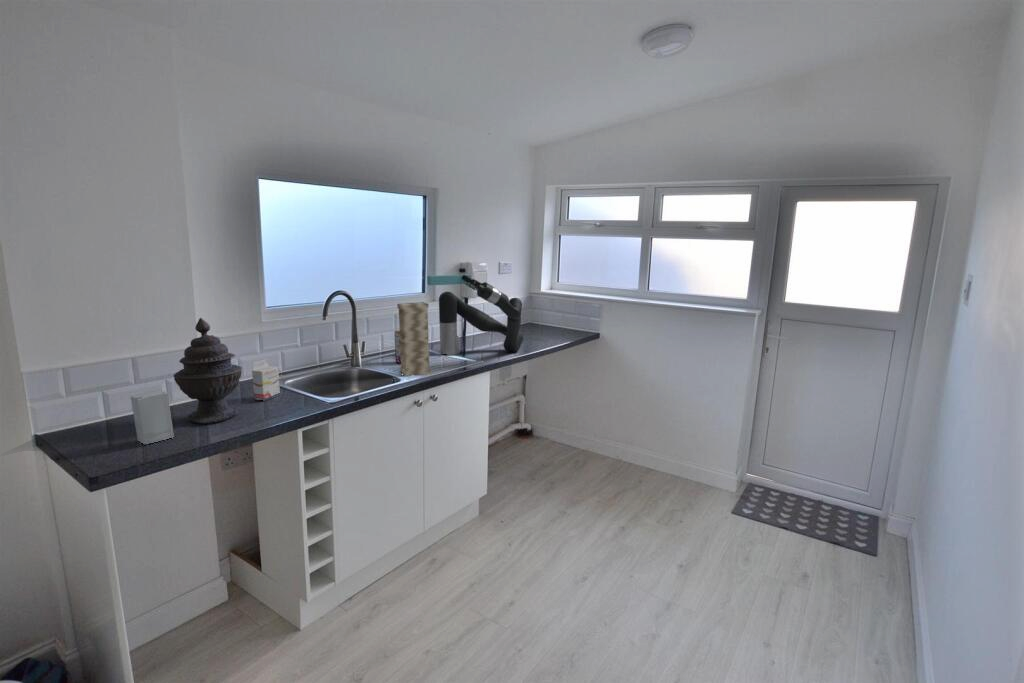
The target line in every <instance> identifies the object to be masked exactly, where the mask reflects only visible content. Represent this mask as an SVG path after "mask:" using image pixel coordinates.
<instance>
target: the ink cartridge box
mask: <svg viewBox="0 0 1024 683" xmlns="http://www.w3.org/2000/svg"><path fill="white" fill-rule="evenodd" d="M269 361H270V360H269V358H266V359H262V360H258V361H254V362H252V364H251V365H252V366H251V367H252V368H251V369H252V371H251V374H252V375H251V376H252V384H253V385H252V386H253V389H252V390H253V398H254V397H255V398H261V399H264V398H268V397H270V396H273V395H275V394H278V393H280V394H281V389H280V388H281V387H280V376H279V374H280V373H279V366H270V365H269V364H270V363H269ZM260 364H261V365H260Z"/></svg>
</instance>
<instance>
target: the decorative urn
mask: <svg viewBox="0 0 1024 683" xmlns="http://www.w3.org/2000/svg"><path fill="white" fill-rule="evenodd" d="M194 328H195V329H194V330H195V331H196V332H198V333H200V335H201V336H198V337H195V338H192V339H191V341H190V345H189V346H188V347H186V348H185V349H184V352H183V354H184V357H182V358H181V359H179V361H178V362H179V364H182V365H183V368H182V369H180V370H178V371H177V372H175V373H174V374H173V377H174V378H173V379H174V382H175V384H176V385H177V386H178V387H179V390H180V391H181V392H182V393H184V395H186V396H187V397H188V398H189V399H191V400H197V408H196V411H195V410H194V411H192V412H191V413H189V414H187V415H186V420H188V421H190V422H192V423H194V422H196V423H195V424H207V423H208V422H215V421H219V422H221V421H220V420H223V421H225V420H224V419H227V418H229V417H232V416H233V417H235V416H236V415H238V414H239V409H238V408H237V407H233V406H229V404H228V402H227V400H226V398H225V397H227V396H229V395H230V394H232V393H233V392H234V390H235V389H236V387H238V385H239V383H240V379H241V377H242V373H243V372H242V371H243V367H242V366H240V365H237V364H232V358H234V357H235V356H236V355H235V354H234V353H231V352H229V349H228V345H227V344H225V343H221V342H222V341H221V339H220V337H218V336H215V335H213V334H211V335H209V334H208V332H209V331H210V330H211V326H210V324H209V322H207V321H206V320H205V319H203V318H202V317H199V319H198V321H197V323H196V325H195V327H194ZM234 415H235V416H234ZM233 417H232V418H233ZM227 420H228V419H227ZM208 424H209V423H208Z"/></svg>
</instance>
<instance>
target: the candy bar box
mask: <svg viewBox="0 0 1024 683" xmlns="http://www.w3.org/2000/svg"><path fill="white" fill-rule="evenodd" d="M394 353H395V355H394V356H395V363H396V362H401V354H400V330H399V328H398V329H396V330H394Z"/></svg>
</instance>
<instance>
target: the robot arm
mask: <svg viewBox="0 0 1024 683" xmlns="http://www.w3.org/2000/svg"><path fill="white" fill-rule="evenodd" d="M458 275H461V274H460V273H459V274H458ZM462 275H463V276H462V279H463V280H464V281H466V282H468V283H469V284H464V285H466V286H467V287H468V288H470V289H471V290H473V291H476V295H477V296H478V297H479V298H481V299H483V300H484V301H486V302H488V303H490V304H492V305H494V306H496V307H497V308H499V309H500V310H501V312H502V313H503V314H505V315H506V317H507V319H506V320H507V321H506V324H507V325H505V324H503V323H502V322H500V321H499V320H497V319H495V318H493V317H492V316H490V315H489V314H487V313H486V312H484V311H482V310H480V309H478V308H476V307H474V306H473V305H470V304H468V303H466V302H464V301H463V300H462V299H461V298H459V297H458V296H457V295H455V294H454V293H453V292H451V291H443V292H442V293H440V295H439V296H438V310H439V311H438V314H439V315H438V316H439V317H438V319H439V320H438V321H439V346H440V347H439V351H440V353H441V354H447V355H446V356H455V355H458V354H460V340H459V339H460V338H459V335H458V316H460V317H461V318H463V320H465V322H467V323H469V324H470V325H471V326H473V327H474V328H476V329H477V330H479V331H481V332H486V333H492V332H493V333H498V334H499V333H500V334H502V335H504V336H505V339H504V341H503V349H504V350H505V351H506V352H507V353H518V352H519V350H520V348H521V346H522V344H523V342H524V336H523V334H522V333H521V332H519V331H520V328H521V324H522V311H523V310H522V309H523V308H522V307H523V303H522V300H521V299H520V298H518V297H513V298H510V299H509V296H508V295H507V294H505V293H503V291H502V292H501V291H500V290H499V289H497V288H496V287H495V286H493V285H491V284H490V283H488V282H486V281H485V282H480V281H479V280H476V279H474V278H472V277H471V278H469V277H467V276H465V275H466V274H462ZM441 354H440V355H441Z"/></svg>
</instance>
